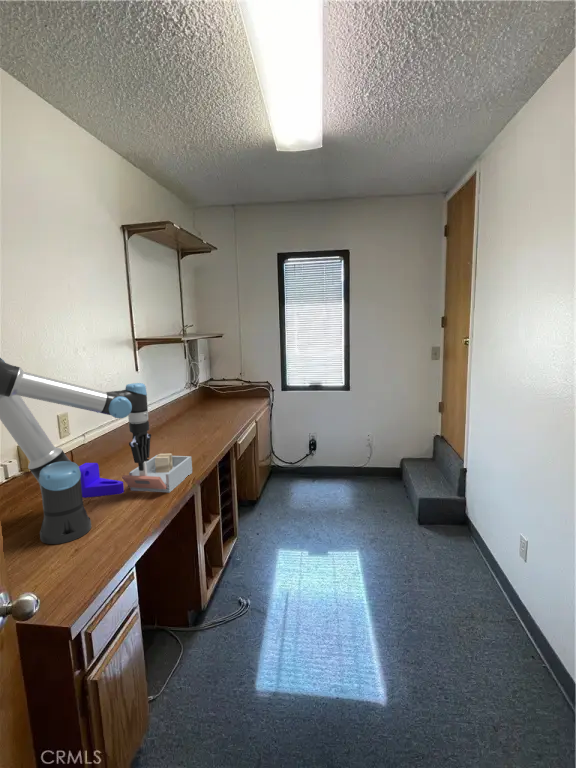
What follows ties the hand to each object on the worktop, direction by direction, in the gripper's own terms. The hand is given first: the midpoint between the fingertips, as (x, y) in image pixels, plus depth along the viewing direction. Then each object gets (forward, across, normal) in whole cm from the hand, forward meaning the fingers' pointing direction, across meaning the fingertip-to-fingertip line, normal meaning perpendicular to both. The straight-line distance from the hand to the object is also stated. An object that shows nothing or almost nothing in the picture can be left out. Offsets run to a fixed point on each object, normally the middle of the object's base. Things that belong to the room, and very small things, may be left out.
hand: (143, 476), depth 158 cm
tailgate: (+3, -1, 0) cm, 3 cm away
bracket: (+8, +1, +20) cm, 22 cm away
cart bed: (+8, +15, 0) cm, 17 cm away
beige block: (+5, +21, +2) cm, 21 cm away
